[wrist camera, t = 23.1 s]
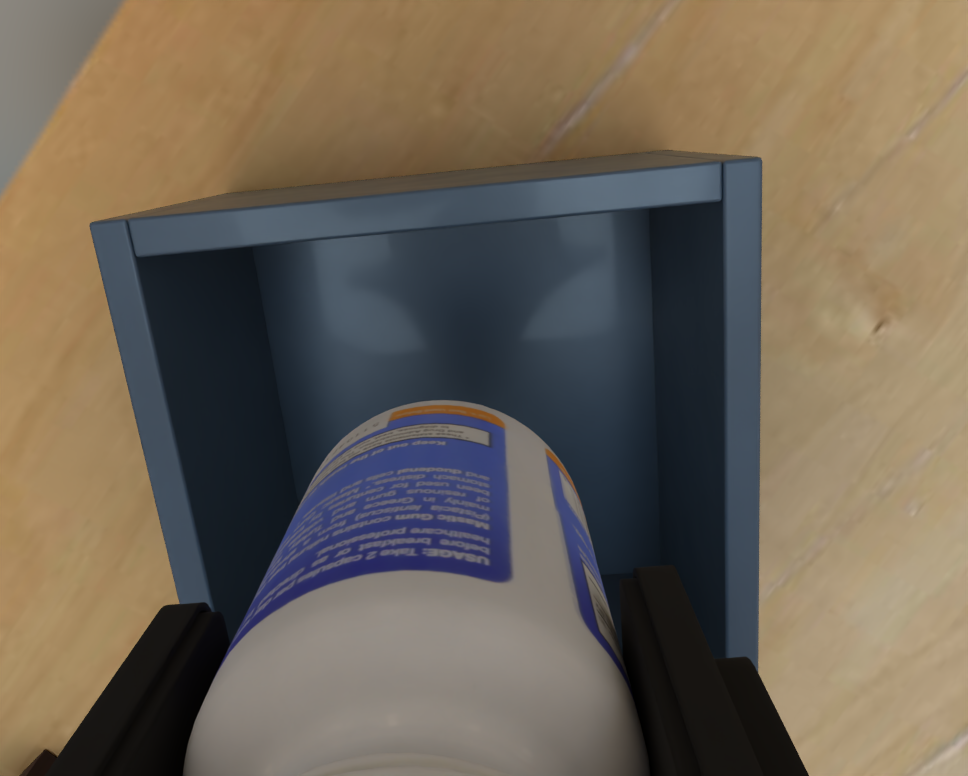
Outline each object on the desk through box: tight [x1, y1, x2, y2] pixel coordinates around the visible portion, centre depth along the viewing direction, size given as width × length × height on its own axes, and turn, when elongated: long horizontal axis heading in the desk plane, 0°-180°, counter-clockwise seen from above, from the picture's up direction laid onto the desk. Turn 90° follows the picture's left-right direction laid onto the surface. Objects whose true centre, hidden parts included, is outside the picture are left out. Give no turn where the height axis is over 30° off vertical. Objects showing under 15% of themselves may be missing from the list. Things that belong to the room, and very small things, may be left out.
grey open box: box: [90, 150, 762, 672], centre depth 22 cm, size 15×14×9 cm
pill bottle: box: [183, 400, 651, 776], centre depth 11 cm, size 5×5×10 cm
